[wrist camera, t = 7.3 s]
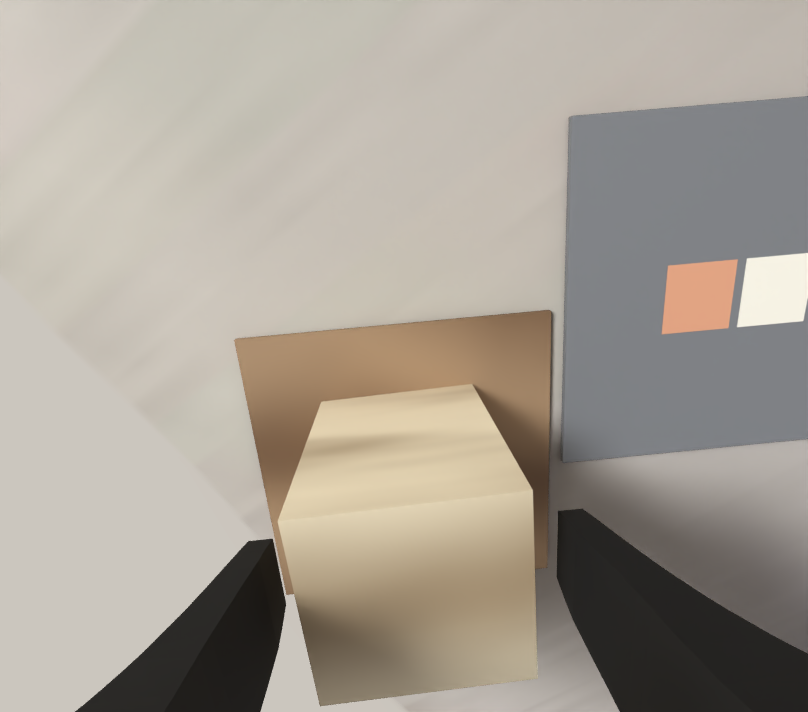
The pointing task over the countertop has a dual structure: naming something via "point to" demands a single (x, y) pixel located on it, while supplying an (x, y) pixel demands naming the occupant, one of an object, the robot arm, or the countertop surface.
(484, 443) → the maple block
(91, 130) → the countertop surface
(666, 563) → the countertop surface
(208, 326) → the countertop surface
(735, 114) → the mat
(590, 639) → the robot arm
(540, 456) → the pad
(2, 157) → the countertop surface
